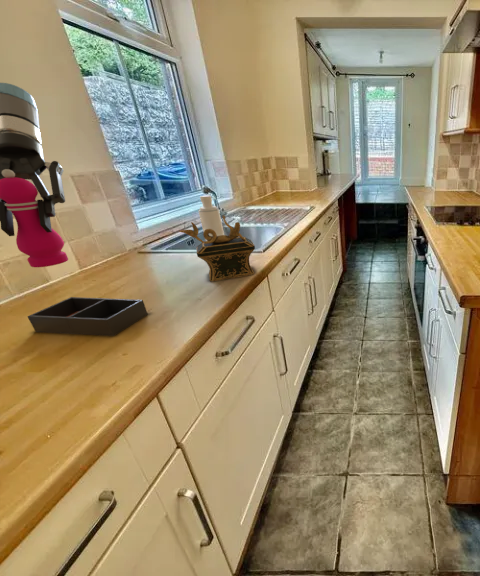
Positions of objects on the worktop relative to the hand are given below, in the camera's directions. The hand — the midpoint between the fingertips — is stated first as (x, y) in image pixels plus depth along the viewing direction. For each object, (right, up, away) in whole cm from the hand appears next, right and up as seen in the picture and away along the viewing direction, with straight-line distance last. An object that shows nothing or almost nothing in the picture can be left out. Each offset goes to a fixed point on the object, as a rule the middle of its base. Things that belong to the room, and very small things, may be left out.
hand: (27, 230), depth 66 cm
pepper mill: (-2, -6, +6) cm, 9 cm away
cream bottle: (+10, 0, +58) cm, 59 cm away
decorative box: (+21, -8, +41) cm, 47 cm away
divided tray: (+3, -21, +12) cm, 24 cm away
